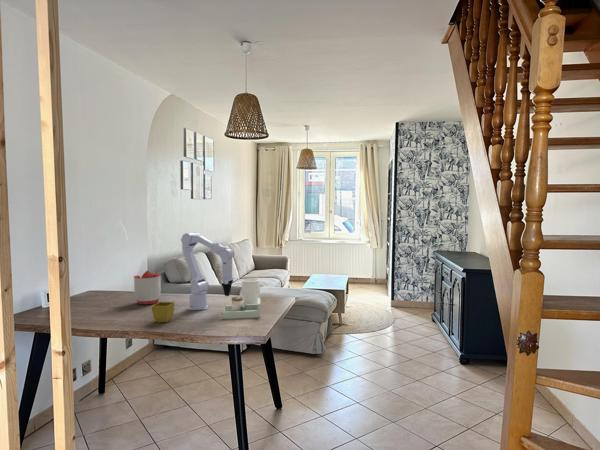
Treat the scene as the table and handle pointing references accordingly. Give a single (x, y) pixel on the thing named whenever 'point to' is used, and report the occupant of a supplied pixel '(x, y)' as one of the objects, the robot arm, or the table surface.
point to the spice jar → (237, 303)
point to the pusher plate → (244, 306)
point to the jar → (250, 290)
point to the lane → (250, 312)
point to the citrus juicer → (147, 288)
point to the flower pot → (163, 311)
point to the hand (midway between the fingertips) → (227, 294)
